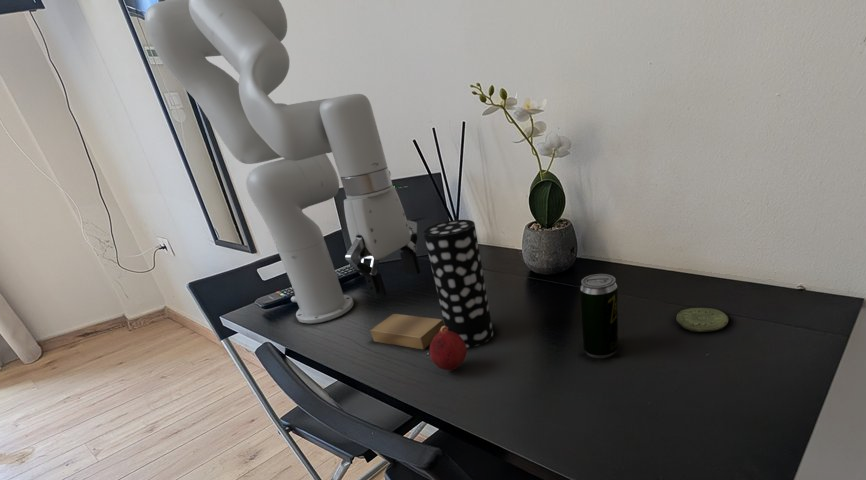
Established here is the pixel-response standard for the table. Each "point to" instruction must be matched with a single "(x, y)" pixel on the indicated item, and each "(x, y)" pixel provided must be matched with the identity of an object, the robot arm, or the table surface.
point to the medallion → (702, 319)
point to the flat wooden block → (407, 331)
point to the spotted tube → (460, 280)
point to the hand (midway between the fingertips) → (396, 284)
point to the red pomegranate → (447, 349)
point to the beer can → (599, 315)
